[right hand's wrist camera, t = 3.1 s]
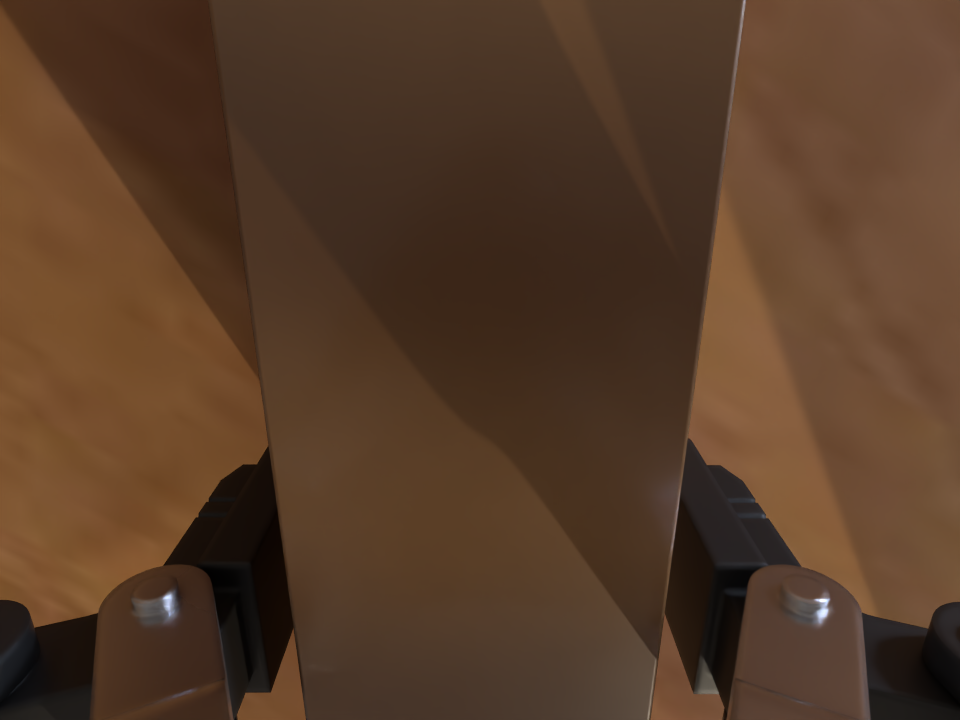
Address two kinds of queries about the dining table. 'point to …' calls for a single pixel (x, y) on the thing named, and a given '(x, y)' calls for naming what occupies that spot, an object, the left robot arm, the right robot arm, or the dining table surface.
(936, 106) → the dining table surface
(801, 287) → the dining table surface
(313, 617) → the beam
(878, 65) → the dining table surface
